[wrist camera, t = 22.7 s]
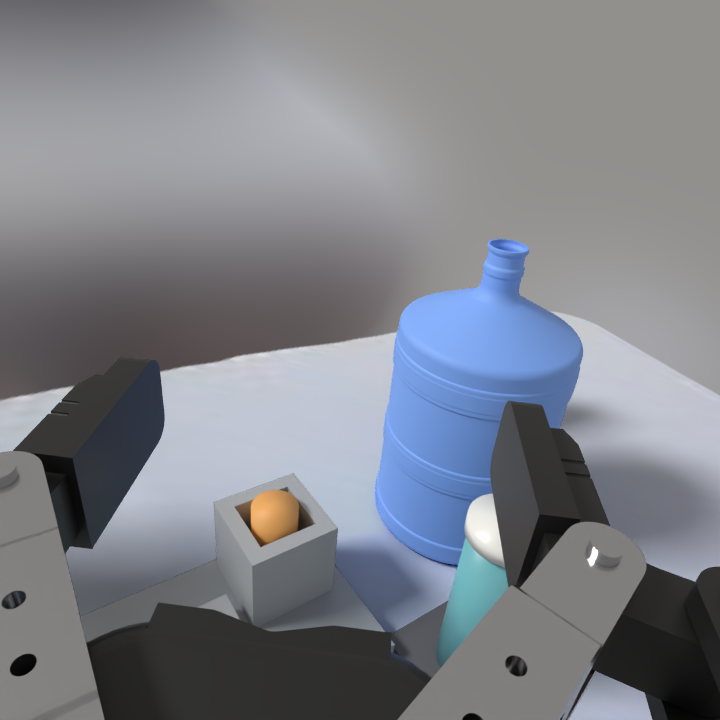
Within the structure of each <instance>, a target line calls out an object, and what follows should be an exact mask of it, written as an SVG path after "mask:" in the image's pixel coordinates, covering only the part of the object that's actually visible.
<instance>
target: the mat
mask: <svg viewBox="0 0 720 720" xmlns="http://www.w3.org/2000/svg"><path fill="white" fill-rule="evenodd" d="M447 604H448V601H447V602H445V603H443V604H442V605H440V606H438V607H437V608H435V609H433V610H432V611H430V612H428V613H427V614H425V615H423V616H421V617H420V618H418V619H416V620H415V621H413V622H411V623H410V624H408V625H406V626H404V627H403V628H401V629H399V630H398V631H396V632H394V633H393V634H392V637H391V640H392V641H393V643H394V644H395V647H394V652H393V653H394V654H397V655H399V656H401V657H403V658H405V659H407V660H409V661H411V662H412V663H414V664H416V665H417V666H418V667H420V668H421V669H423V670H424V671H426V672H427V673H428V674H429V675H430V676H431V677H432V678H433V677H434V675H435V674H436V673H437V672H438V671H439V669H440V666H439V664H438V661H437V658H436V645H437V641H438V638H439V634H440V630H441V626H442V623H443V619H444V615H445V612H446V608H447Z"/></svg>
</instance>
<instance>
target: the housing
mask: <svg viewBox="0 0 720 720" xmlns="http://www.w3.org/2000/svg"><path fill="white" fill-rule="evenodd" d="M270 490H282V491H286V492H288V493H290V494H292V495H293V496H294V497H295V498H296V499H297V501H298V504H299V516H298V532H295V533H293V534H291V535H288V536H286V537H284V538H281V539H279V540H277V541H274V542H272V543H270V544H267V545H265V546H263V547H260V546H259V544H258V543H257V541H256V540H255V538H254V536H253V535H252V533H251V504H252V501H253V500H254V499H255V498H256V497H257V496H258V495H259V494H261V493H263V492H266V491H270ZM213 504H214V521H215V538H216V556H217V559H216V560H213V561H211V562H208V563H206V564H204V565H201V566H199V567H197V568H194V569H192V570H189V571H187V572H185V573H182V574H180V575H178V576H175V577H173V578H170V579H168V580H166V581H163V582H161V583H159V584H156V585H154V586H151V587H149V588H147V589H144V590H142V591H140V592H137V593H135V594H132V595H130V596H128V597H125V598H123V599H121V600H118V601H116V602H113V603H111V604H109V605H106V606H104V607H102V608H99V609H97V610H94V611H92V612H90V613H87V614H85V615H83V616H80V617H81V621H82V625H83V629H84V633H85V637H86V641H87V642H89V641H91V640H93V639H95V638H96V637H98V636H101V635H103V634H105V633H108V632H110V631H112V630H115V629H118V628H121V627H124V626H127V625H132V624H136V623H141V622H148V621H150V619H151V617H152V615H153V613H154V610H155V608H156V606H157V604H158V602H159V603H167V604H175V605H182V606H190V607H198V608H205V609H213V610H217V611H219V612H222V613H224V614H227V615H229V616H232V617H234V618H237V619H239V620H242V621H244V622H247V623H249V624H252V625H254V626H257V627H259V628H262V629H264V630H267V631H285V630H295V629H304V628H313V627H323V626H332V625H335V626H343V627H351V628H358V629H366V630H374V631H381V632H385V631H384V629H383V628H382V627H381V625H380V624H379V623H378V621H377V620H376V619H375V617H374V616H373V615H372V614H371V612H370V611H369V610H368V608H367V607H366V606H365V604H364V603H363V602H362V600H361V599H360V598H359V596H358V595H357V594H356V592H355V591H354V590H353V588H352V587H351V586H350V584H349V583H348V582H347V580H346V579H345V578H344V576H343V575H342V574H341V572H340V571H339V570H338V568H337V567H336V566H335V555H336V544H337V533H338V528H337V526H336V525H335V524H334V523H333V521H332V520H331V519H330V518H329V516H328V515H327V514H326V513H325V511H324V510H323V509H322V508H321V507H320V505H319V504H318V503H317V502H316V500H315V499H314V498H313V497H312V495H311V494H310V493H309V492H308V490H307V489H306V488H305V487H304V485H303V484H302V483H301V482H300V481H299V479H298V478H297V477H296V476H295V474H294V473H292V474H289V475H287V476H284V477H281V478H278V479H276V480H273V481H270V482H268V483H265V484H262V485H259V486H257V487H254V488H251V489H248V490H246V491H243V492H240V493H237V494H235V495H232V496H229V497H227V498H224V499H221V500H218V501H216V502H213ZM394 647H395V644H394V643H393V641H392V640H391V652H392V653H393V652H394Z"/></svg>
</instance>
